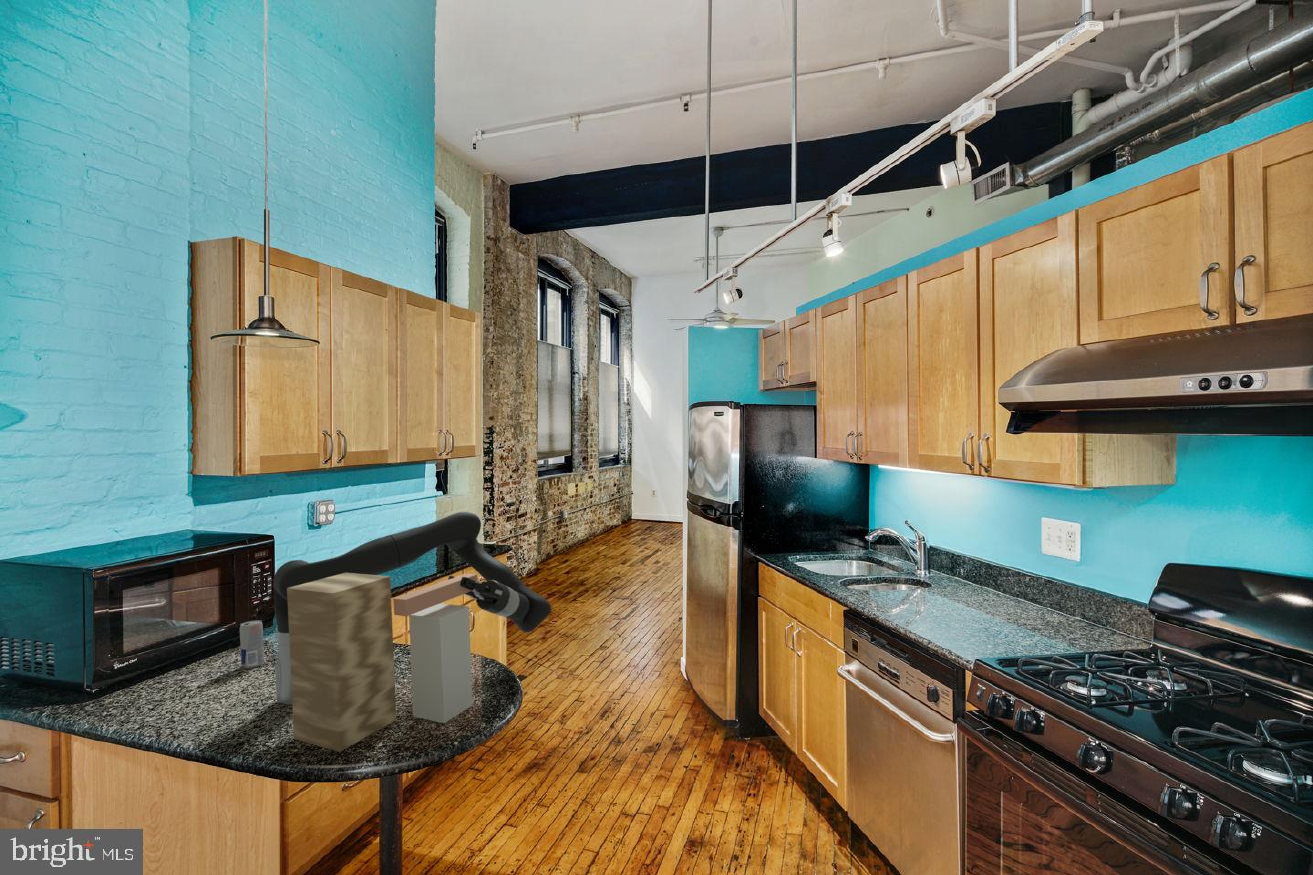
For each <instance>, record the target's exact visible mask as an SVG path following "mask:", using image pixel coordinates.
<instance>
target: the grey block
mask: <svg viewBox="0 0 1313 875" xmlns="http://www.w3.org/2000/svg"><path fill="white" fill-rule="evenodd" d="M469 612H470V611H469V606H466V605H457V604H448V603H440V604H437V605H434V606H432V607H429V608H427V609H424V610H422V611H419V612H416V613H414V614H411V615H409V616H408V621H409V623H408V624H409V646H410V647H409V648H410V669H411V670H410V671H411V686H412V687H411V690H412V692H411V693H412V708H413V709H412V711H413V712H412V714H413V717H414V718H418V719H422V718H423V720H427V719H429V720H428V721H431V720H432V722H437V723H442V724H445V723H448V722H449V721H451V720H452V719H453V718H456V716H458V715H459V714H461V713H463V712H465V711H466V710H468V709H469V708H470V707H473V705H474V702H473V700H474V699H473V679H472V659H471V658H472V657H471V634H470V633H471V632H470V630H471V629H470V615H469V614H470V613H469Z"/></svg>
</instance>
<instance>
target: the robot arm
mask: <svg viewBox="0 0 1313 875" xmlns="http://www.w3.org/2000/svg"><path fill="white" fill-rule="evenodd" d="M481 529H482V523H481V519H480V517H479V516H478V515H477V514H475V513H473V512H469V511H459V512H455V513H453V514H450V515H448V516H446V517H442V518H441V519H438V520H434V521H433V522H430V523H427V524H424V525H420V526H417V527H413V528H410V529H407V530H404V531H399V532H397V533H393V534H389V535H385V536H382V537H378V538H374V539H372V540H369V541H367V542H364V543H363V544H360V545H359V546H357V547H354V548H353V549H351V550H349V551H347V552H346V553H344V554H340V555H338V556H334V557H332V558H328V559H324V560H318V561H313V562H308V561H306V560H301V559H294V560H289V561H287V562H285V563H283V564H282V565H281V566H280V567H278V569H277V571H276V572H275V573H274V576H273V577H274V578H273V583H272V584H273V585H272V586H273V600H274V602H273V603H274V616H275V621H276V630H277V646H278V647H277V650H278V661H277V662H276V663H275V665H274V671H275V673H274V674H275V691H276V692H275V693H276V694H275V695H276V703H277V704H284V705H287V706H288V705H292V685H291V664H290V642H289V621H288V599H287V588H290V587H293V586H297V585H301V584H305V583H308V582H312V581H316V580H320V579H324V578H327V577H331V576H335V575H339V574H342V573H357V574H368V575H382V574H385V573H388V572H390V571H394V570H396V569H400V568H403V567H405V566H407V565H409V564H411V563H412V562H415V561H417V559H419V558H421V557H422V556H425V554H427V553H429V552H431V551H432V550H434V549H436V548H439V547H441V546H445V545H446V546H447V547H448V548H449V549H450V550H451V551H453V553H455V554H456V555H457V556H458V557H459V558H461V559H462V560H463V561H464V562H466V564H468V565H470V567H471V568H472V569H474V570H475V571H476V572H477V574H479V575H480V576H481V577H482V578H483V579H484V580H485V581H480V580H478V581H477V580H476V581H474V580H471V579H469V578H467V577H462V579H461V583H460V586H462V587H464V588H467V589H469V590H471V591H470V592H468V593H465V594H463V595H464V596H466V597H470V599H473V600H475V603H476V605H477V606H478V608H479V609H481V610H483V611H486V612H488V613H490V614H494V615H496V616H499V617H504V618H507V619H508V620H511V621H512V622H513V623H514V624H515V625H516V627H517V628H518V629H519V630H520V631H522V632H523V633H530V632H534V630H536V628H538V626H540V624H541V623H542V622H544V621H545V620H546V619H547V618H548V617H549V615H550V614H551V612H552V606H551V603H550V602H549V601H548V599H546V598H545V597H544V596H543V595H541V594H538V593H537V592H535V591H534V590H532V589H531V588H529V587H528V585H526V584H525V583H523V581H522V580H521V579H520V578H519V577H518V576H517V574H516V573H515V572H514V571H513V570H512V568H510V567H509V566H508V565H506V564H505V563H503V562H502V561H500V560H498V559H497V558H494V556H492V555H490V554H489V553H488V552H487V551H486V550H485V549H484V548H483V547H482V546H481V544H480V542H479V541H478V537H479V534H480V531H481ZM454 577H455V576H454V575H449V576H448V578H447V580H448V579H452V578H454Z"/></svg>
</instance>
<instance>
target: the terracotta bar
mask: <svg viewBox="0 0 1313 875" xmlns="http://www.w3.org/2000/svg"><path fill="white" fill-rule="evenodd" d="M462 577H467V578H469V579H471V580H474V581H476V580H477V581H479V580H478V573H463V574H460V575H458V576H454V578H452V579H448V578H447V579H445V580H443V581H440V582H436V583H435V584H432V585H429V586H425V587H423V588H420V589H417V590H413V591H411V592H409V593H406V594H402V595H400V596H397V597H394V598H393V615H394V616H401V617H409V615H411V614H414V613H416V612H419V611H422V610H424V609H427V608H429V607H432V606H434V605H437V604H440V603H441V604H443V603H444V602H448V601H450V600H452V599H454V598H457V597H460V596H463V595H464V594H465V593H468V592H470V591H471V590H469V589H467V588H464V587H462V586H460V583H461V579H462Z"/></svg>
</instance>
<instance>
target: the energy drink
mask: <svg viewBox="0 0 1313 875" xmlns="http://www.w3.org/2000/svg"><path fill="white" fill-rule="evenodd" d="M263 630H264V629H263V622H262V620H259V619H254V620H249V621H246V622H243V623H241V624H240V626H239V640H240V662H241V665H240V667H241V668H243V669H254V668H257V667H259V666H262V665H264V663H265V654H264V652H265V649H264V632H263Z"/></svg>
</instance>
